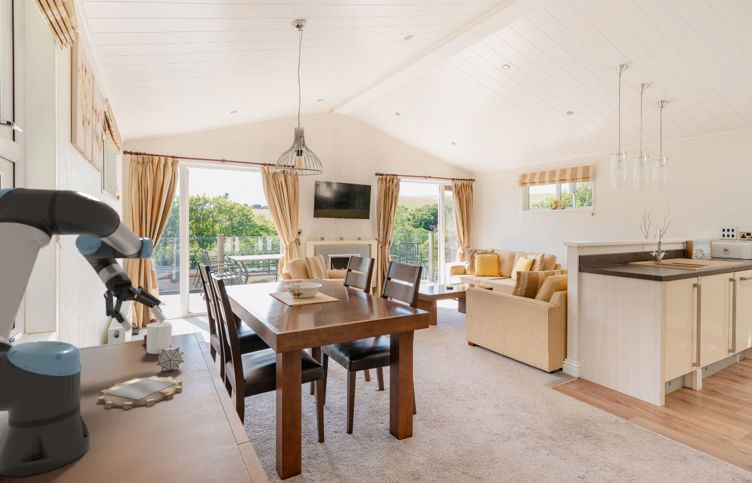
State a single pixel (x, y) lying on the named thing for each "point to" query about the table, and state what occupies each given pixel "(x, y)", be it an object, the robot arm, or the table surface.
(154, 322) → the toy fire truck
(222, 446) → the table surface
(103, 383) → the table surface
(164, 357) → the game die
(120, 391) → the sprocket plate
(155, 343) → the mug
